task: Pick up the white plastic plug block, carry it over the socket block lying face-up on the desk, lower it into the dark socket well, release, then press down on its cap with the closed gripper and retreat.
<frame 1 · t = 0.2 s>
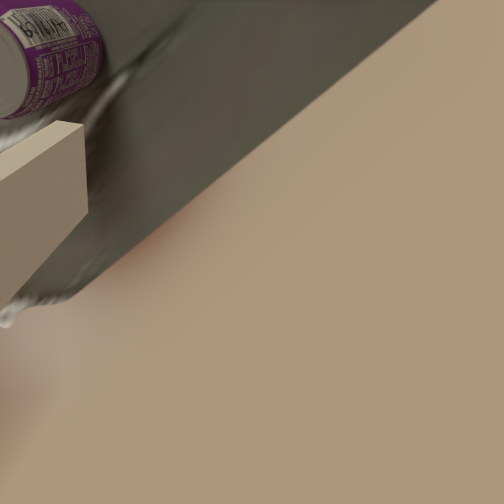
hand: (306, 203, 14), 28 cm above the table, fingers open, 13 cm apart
beverage can: (64, 43, 39), on the table
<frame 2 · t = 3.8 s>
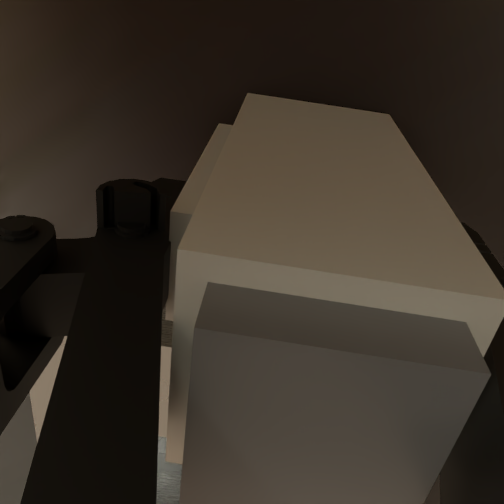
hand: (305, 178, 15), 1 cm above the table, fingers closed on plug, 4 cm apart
plug: (305, 170, 16), on the table, touching gripper
socket block: (231, 438, 23), on the table
when the fingers open (3 cm above the table, at t = 8.4 s): plug drops 2 cm, resting on socket block.
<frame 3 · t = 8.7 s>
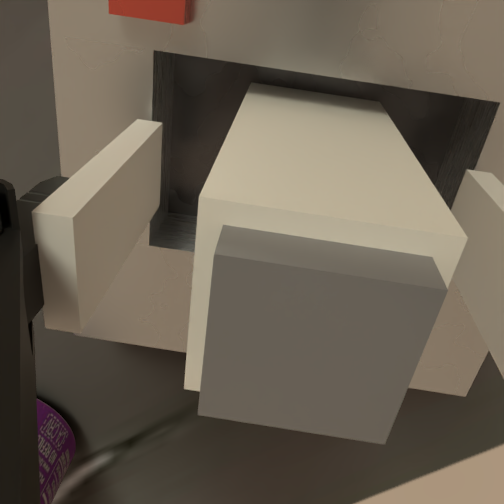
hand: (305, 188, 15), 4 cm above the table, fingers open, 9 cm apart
plug: (303, 154, 18), resting on socket block
socket block: (304, 152, 18), on the table
beverage can: (21, 419, 27), on the table
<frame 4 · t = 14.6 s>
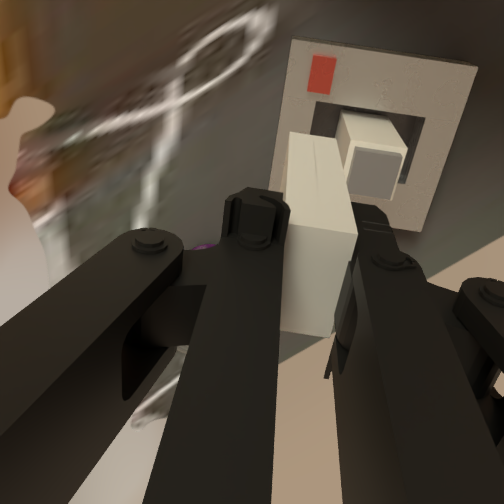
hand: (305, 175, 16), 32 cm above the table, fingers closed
plug: (358, 135, 47), resting on socket block
socket block: (358, 135, 47), on the table
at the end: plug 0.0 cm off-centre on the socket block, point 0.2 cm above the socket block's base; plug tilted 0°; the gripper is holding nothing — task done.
